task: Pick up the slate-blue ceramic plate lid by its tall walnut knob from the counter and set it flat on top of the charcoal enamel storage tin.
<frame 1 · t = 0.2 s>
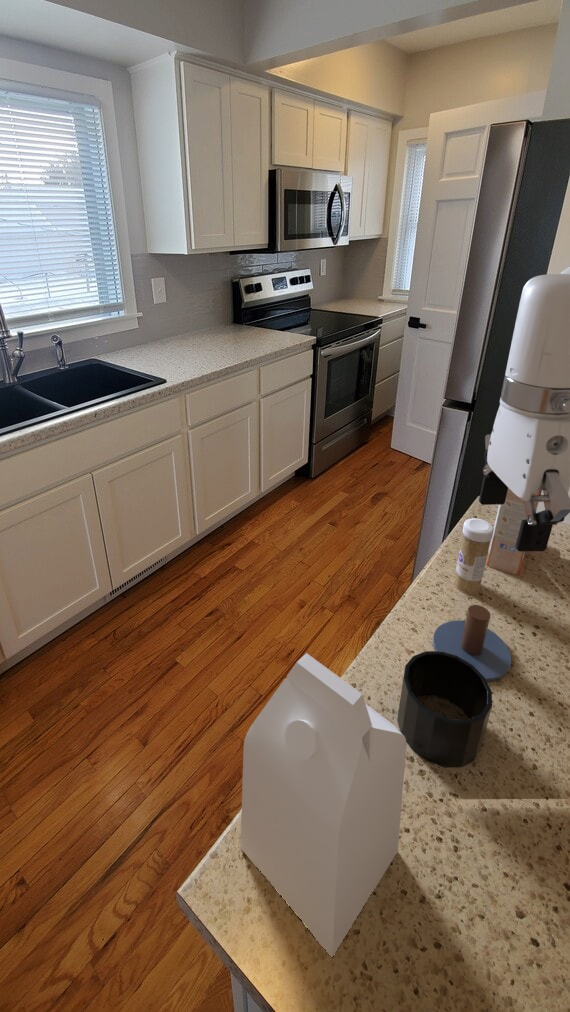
hand: (509, 525, 60), 26 cm above the countertop, tool pointing down, fingers open, 9 cm apart
plate lid: (470, 650, 73), point 1 cm above the countertop
milk: (318, 850, 52), on the countertop
cracker box: (506, 552, 95), on the countertop
tin: (437, 730, 63), on the countertop
sprinkles bottle: (466, 588, 86), on the countertop
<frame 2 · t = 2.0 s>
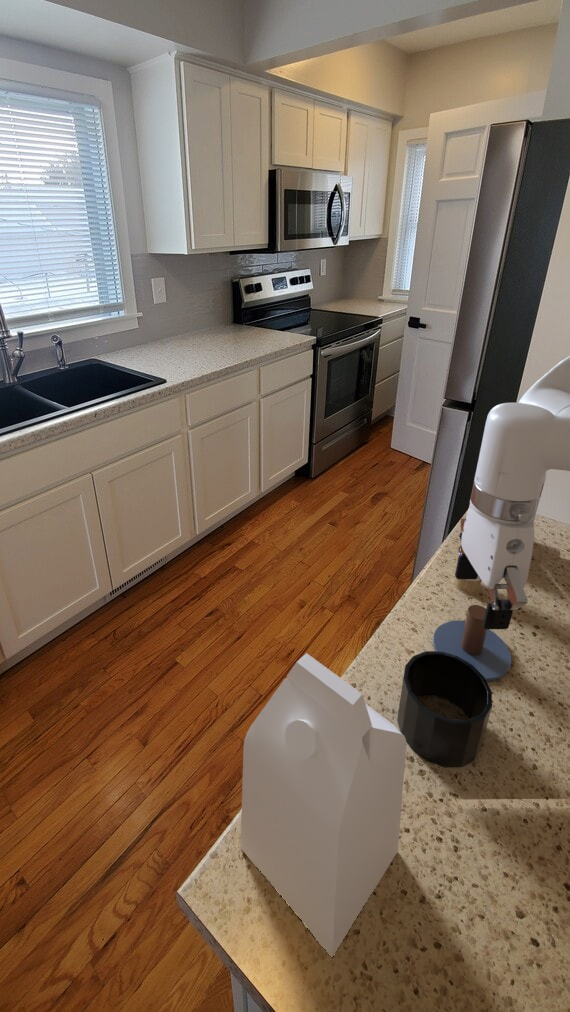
hand: (479, 601, 69), 10 cm above the countertop, tool pointing down, fingers open, 9 cm apart
nothing on the countertop moved.
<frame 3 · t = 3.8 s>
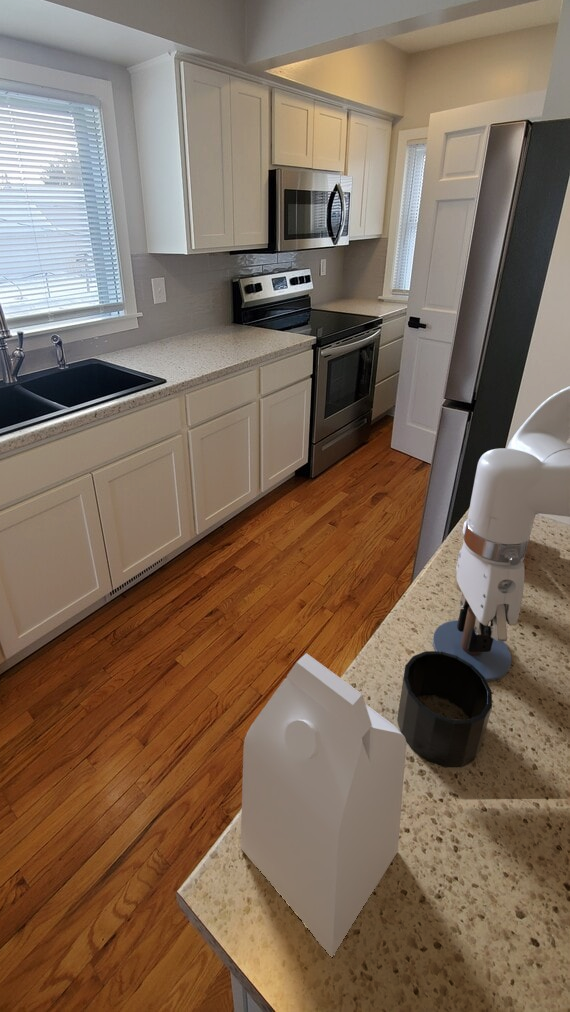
hand: (473, 638, 72), 3 cm above the countertop, tool pointing down, fingers closed on plate lid, 3 cm apart
plate lid: (470, 650, 73), point 1 cm above the countertop, touching gripper
everything else where it was.
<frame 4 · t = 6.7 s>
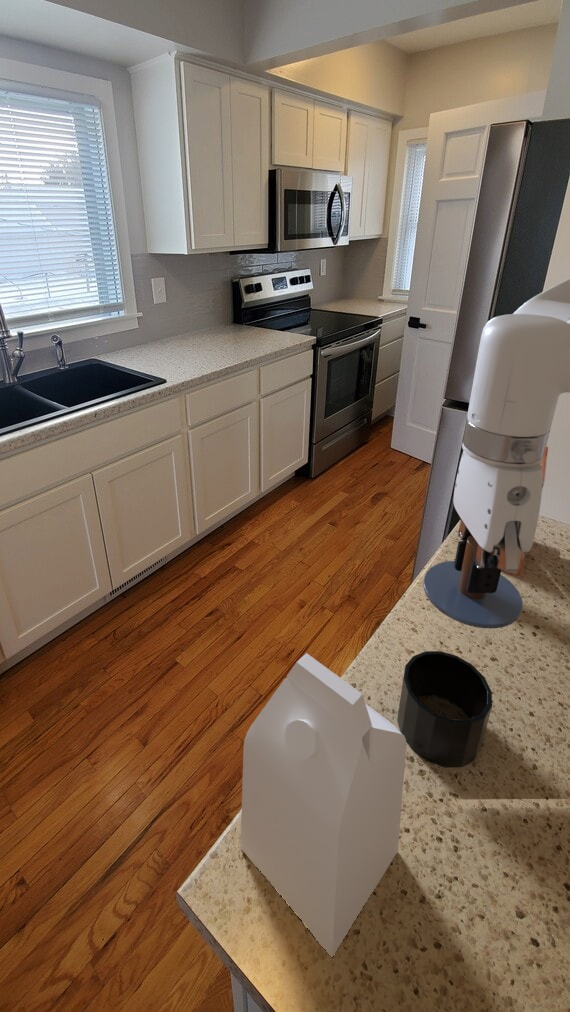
hand: (474, 578, 57), 22 cm above the countertop, tool pointing down, fingers closed on plate lid, 3 cm apart
plate lid: (470, 593, 58), point 19 cm above the countertop, touching gripper
everything else where it was.
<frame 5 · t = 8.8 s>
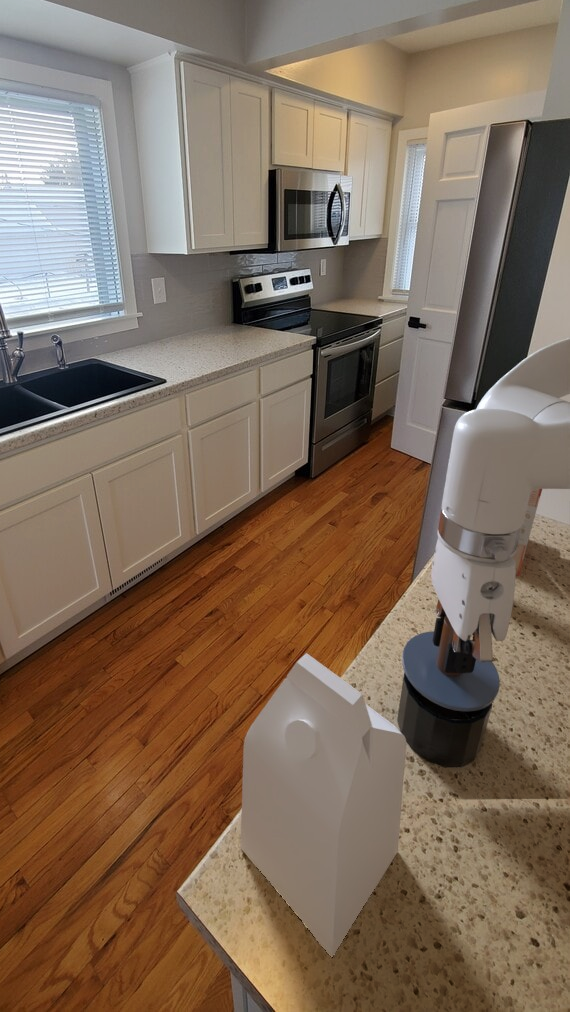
hand: (452, 656, 57), 13 cm above the countertop, tool pointing down, fingers closed on plate lid, 3 cm apart
plate lid: (448, 669, 58), point 11 cm above the countertop, touching gripper
everything else where it was.
when the fingers open (11 cm above the countertop, at t = 9.8 s): plate lid stays where it is, resting on tin.
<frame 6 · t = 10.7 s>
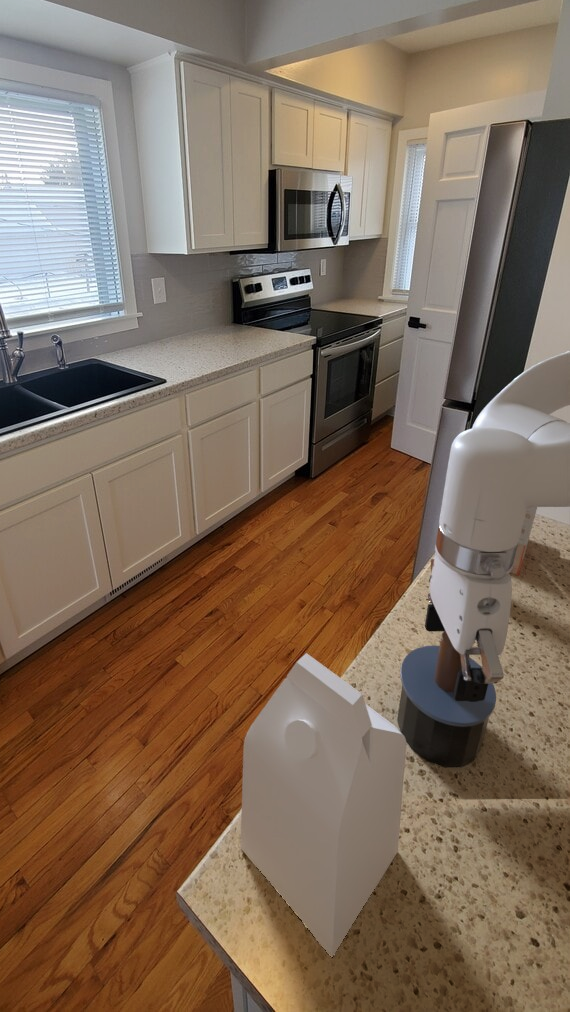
hand: (451, 661, 58), 12 cm above the countertop, tool pointing down, fingers open, 9 cm apart
plate lid: (446, 684, 59), point 8 cm above the countertop, touching tin
everything else where it was.
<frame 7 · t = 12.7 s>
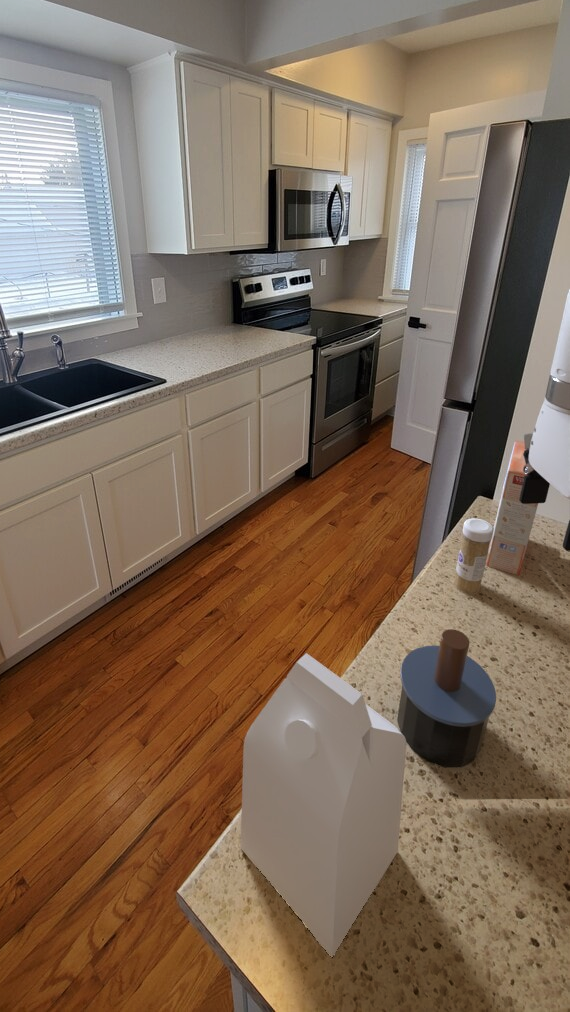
hand: (552, 523, 60), 26 cm above the countertop, tool pointing down, fingers open, 9 cm apart
nothing on the countertop moved.
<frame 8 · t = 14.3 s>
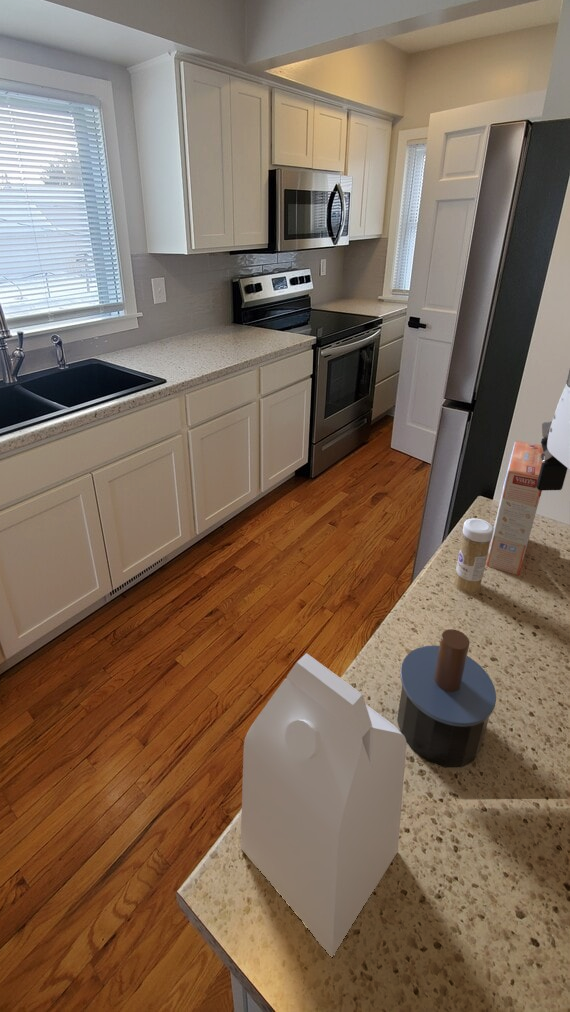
hand: (569, 509, 62), 26 cm above the countertop, tool pointing down, fingers open, 9 cm apart
nothing on the countertop moved.
at the end: plate lid 0.1 cm off-centre on the tin, point 8.5 cm above the tin's base; plate lid tilted 0° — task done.
